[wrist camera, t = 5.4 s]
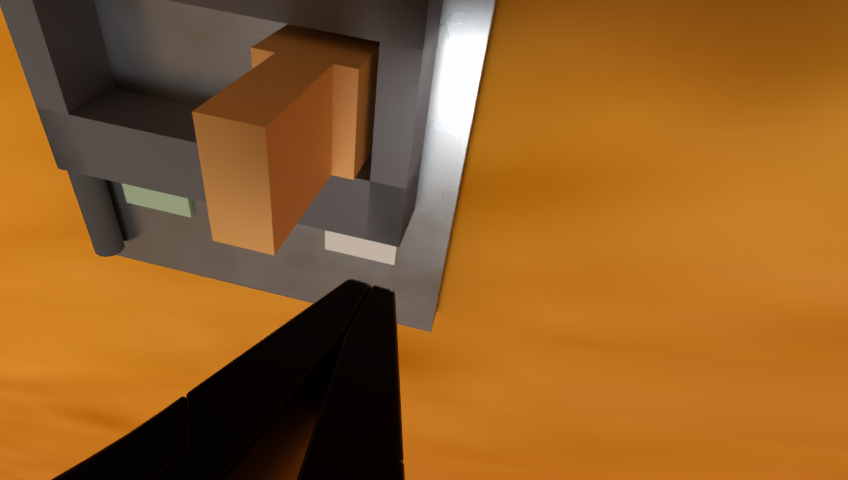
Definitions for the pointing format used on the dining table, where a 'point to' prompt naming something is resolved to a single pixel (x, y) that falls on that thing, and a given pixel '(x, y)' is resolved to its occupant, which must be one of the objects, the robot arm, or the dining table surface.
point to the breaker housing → (173, 122)
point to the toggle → (285, 132)
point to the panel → (305, 246)
